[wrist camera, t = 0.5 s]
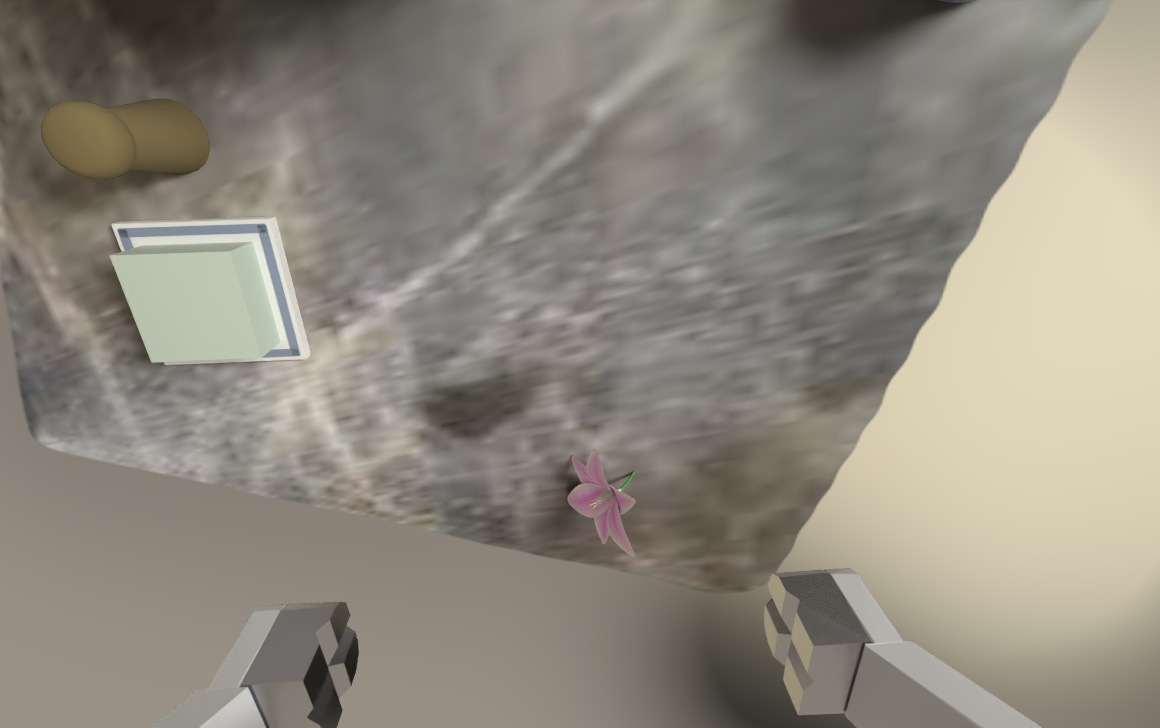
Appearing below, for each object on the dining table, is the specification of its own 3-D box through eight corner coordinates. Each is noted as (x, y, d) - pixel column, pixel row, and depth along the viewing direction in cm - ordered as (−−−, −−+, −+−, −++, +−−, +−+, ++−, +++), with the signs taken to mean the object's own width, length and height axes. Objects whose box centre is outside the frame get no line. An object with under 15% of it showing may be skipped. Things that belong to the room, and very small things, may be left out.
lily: (602, 408, 62) (563, 459, 54) (689, 468, 60) (661, 528, 53) (566, 466, 69) (527, 518, 62) (642, 521, 68) (612, 580, 60)
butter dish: (120, 221, 49) (75, 232, 45) (275, 216, 50) (246, 226, 45) (172, 360, 55) (137, 382, 51) (310, 354, 56) (288, 376, 51)
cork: (191, 93, 46) (91, 86, 36) (221, 168, 48) (135, 181, 38) (121, 104, 46) (1, 100, 36) (155, 178, 48) (51, 194, 38)
